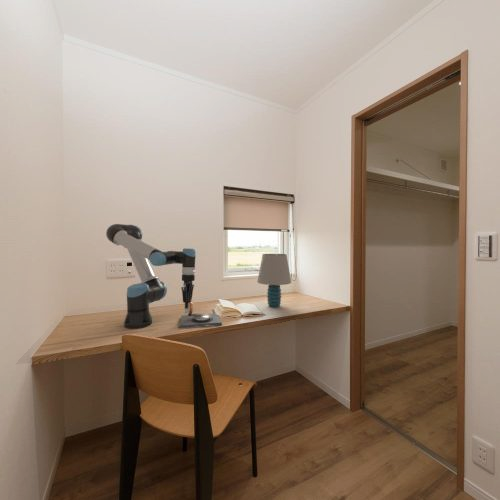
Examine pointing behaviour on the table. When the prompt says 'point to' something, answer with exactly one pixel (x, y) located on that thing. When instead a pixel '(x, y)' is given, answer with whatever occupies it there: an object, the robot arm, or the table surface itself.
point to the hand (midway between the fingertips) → (186, 313)
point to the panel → (190, 322)
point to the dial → (198, 315)
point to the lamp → (274, 276)
